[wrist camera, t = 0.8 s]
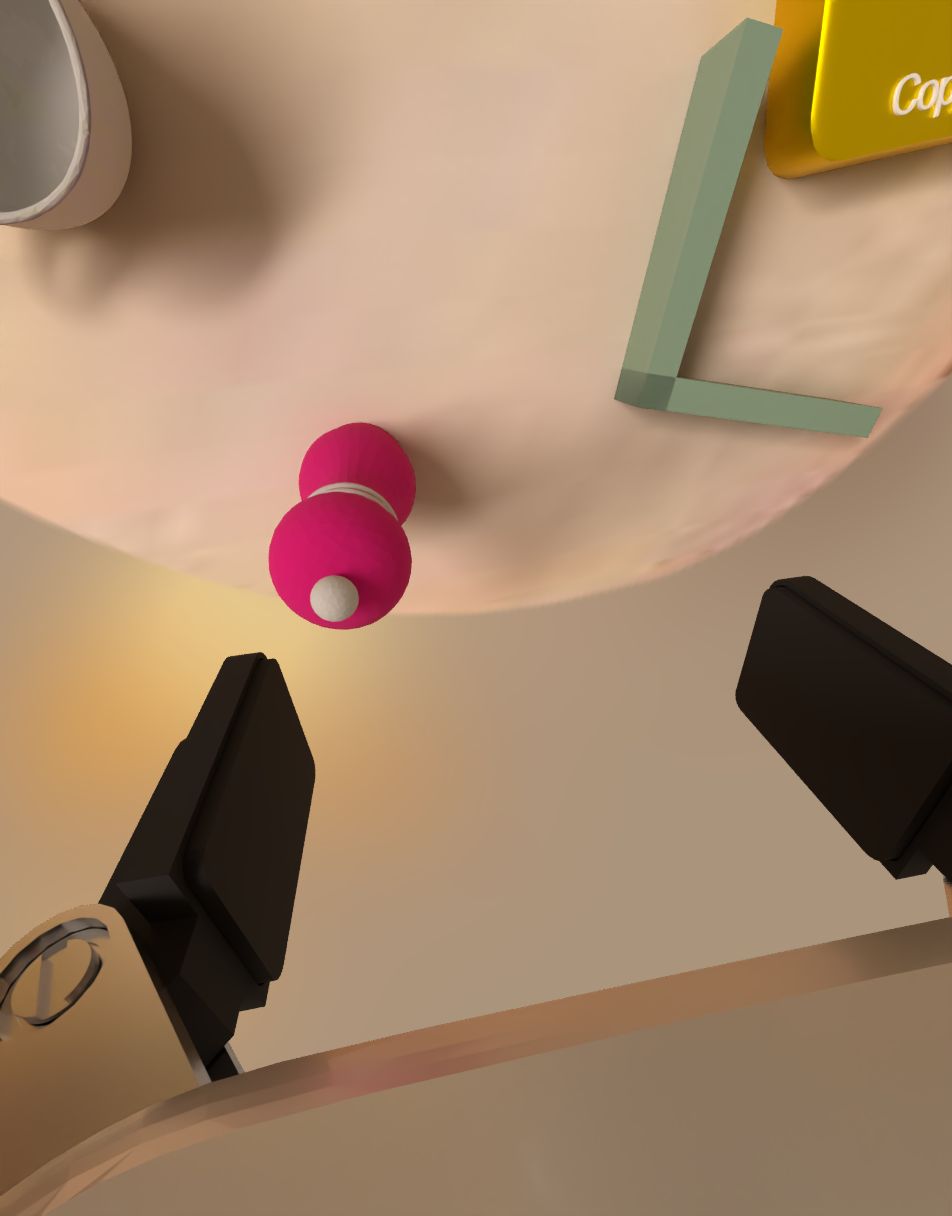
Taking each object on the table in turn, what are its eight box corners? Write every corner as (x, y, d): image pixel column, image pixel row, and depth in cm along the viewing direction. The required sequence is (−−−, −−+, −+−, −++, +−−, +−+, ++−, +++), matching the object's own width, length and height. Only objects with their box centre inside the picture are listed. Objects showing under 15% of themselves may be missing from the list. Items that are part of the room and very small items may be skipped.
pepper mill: (433, 456, 35) (469, 585, 18) (379, 533, 37) (366, 712, 20) (343, 391, 32) (286, 471, 15) (291, 480, 34) (190, 636, 17)
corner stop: (701, 56, 26) (747, 17, 23) (962, 133, 30) (1035, 109, 26) (614, 398, 35) (638, 407, 31) (825, 427, 38) (867, 437, 35)
